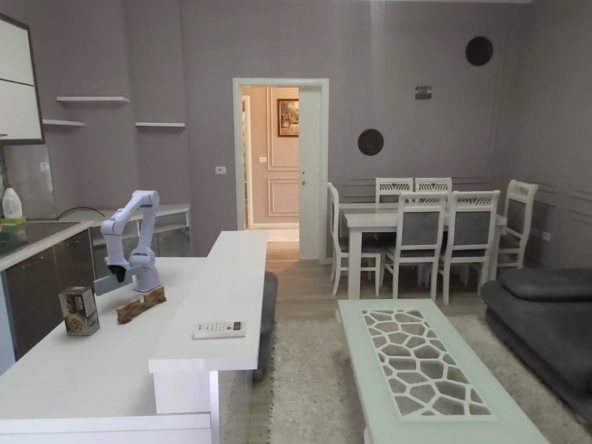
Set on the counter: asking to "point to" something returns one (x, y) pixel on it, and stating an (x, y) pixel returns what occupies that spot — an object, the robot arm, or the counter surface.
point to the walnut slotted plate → (140, 305)
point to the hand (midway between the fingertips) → (120, 281)
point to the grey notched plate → (112, 283)
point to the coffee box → (79, 310)
